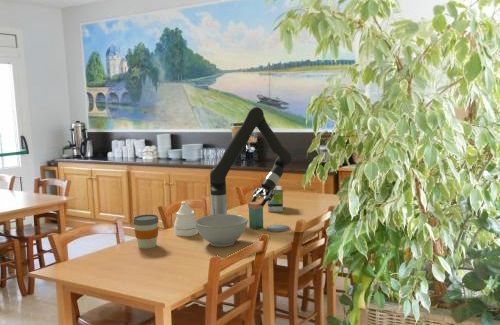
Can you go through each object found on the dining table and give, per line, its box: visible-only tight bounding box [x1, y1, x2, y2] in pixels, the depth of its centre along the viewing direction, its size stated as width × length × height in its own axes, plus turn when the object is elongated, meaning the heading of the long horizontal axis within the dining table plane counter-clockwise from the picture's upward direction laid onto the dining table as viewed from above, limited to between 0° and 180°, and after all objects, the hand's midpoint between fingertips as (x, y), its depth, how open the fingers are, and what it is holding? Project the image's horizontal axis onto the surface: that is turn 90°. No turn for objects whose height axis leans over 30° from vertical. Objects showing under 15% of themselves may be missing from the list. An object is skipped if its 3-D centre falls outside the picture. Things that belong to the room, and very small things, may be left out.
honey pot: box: [173, 201, 199, 237], centre depth 274 cm, size 13×13×18 cm
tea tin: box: [248, 207, 264, 230], centre depth 281 cm, size 6×6×12 cm
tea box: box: [267, 185, 284, 213], centre depth 326 cm, size 15×10×15 cm, turn 179°
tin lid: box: [247, 200, 265, 209], centre depth 280 cm, size 6×6×4 cm
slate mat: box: [266, 224, 291, 233], centre depth 278 cm, size 13×13×1 cm
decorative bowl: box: [195, 213, 249, 248], centre depth 253 cm, size 27×27×12 cm
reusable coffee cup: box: [133, 214, 159, 249], centre depth 251 cm, size 13×13×15 cm
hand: (256, 204), depth 280 cm, fingers open, 8 cm apart
